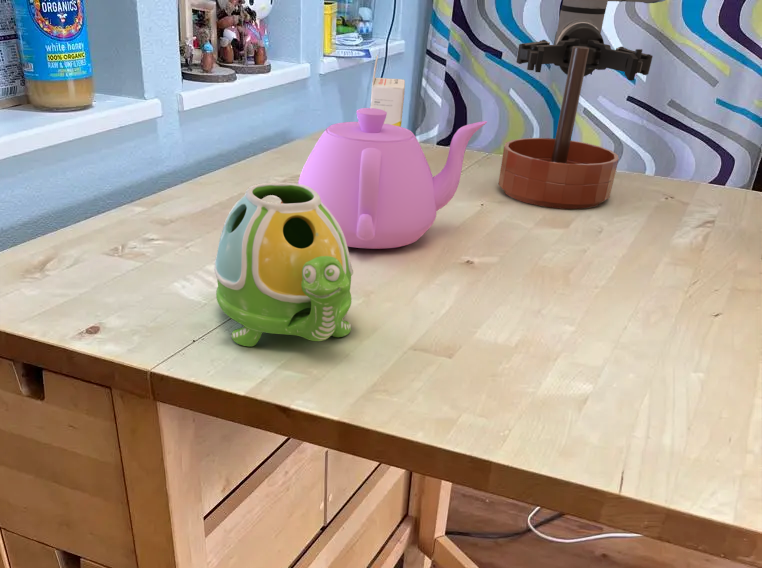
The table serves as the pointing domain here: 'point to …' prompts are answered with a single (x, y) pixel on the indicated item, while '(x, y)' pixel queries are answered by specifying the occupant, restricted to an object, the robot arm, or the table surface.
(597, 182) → the bowl
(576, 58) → the peg on round base
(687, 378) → the table surface
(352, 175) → the teapot
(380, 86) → the ink cartridge box
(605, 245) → the table surface
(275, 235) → the turtle holder
